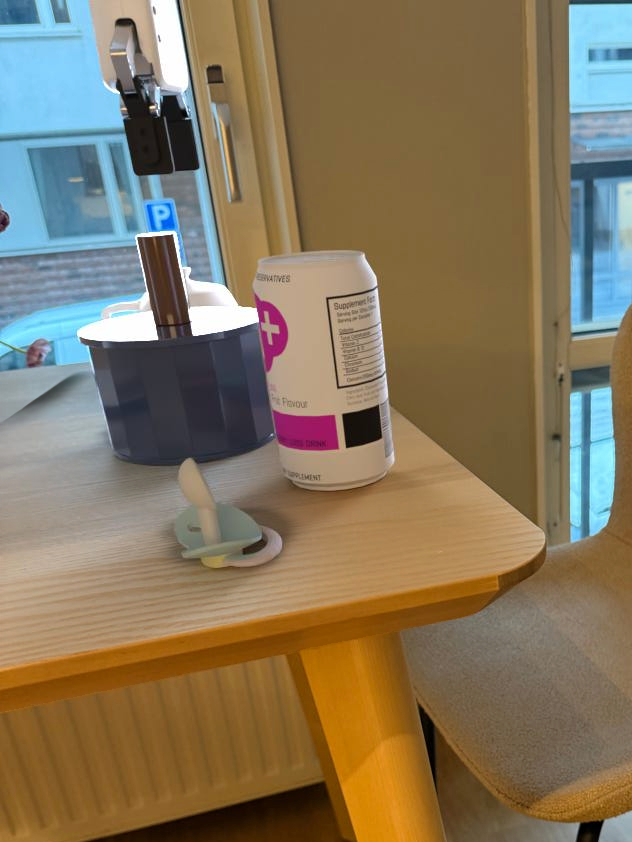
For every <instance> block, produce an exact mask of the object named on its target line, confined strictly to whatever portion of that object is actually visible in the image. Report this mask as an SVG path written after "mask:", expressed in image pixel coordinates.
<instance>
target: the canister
mask: <svg viewBox="0 0 632 842" xmlns="http://www.w3.org/2000/svg"><path fill="white" fill-rule="evenodd" d="M86 350H87V355H88V358H89V362H90V367H91V370H92V374H93V378H94V382H95V386H96V390H97V391H96V392H97V394H98V398H99V402H100V406H101V411H102V415H103V419H104V424H105V427H106V431H107V434H108V439H109V442H110V443H109V444H110V445H111V448H112V451H113V454H114V455H115V457H116V458H118V459H119V460H121V461H124V462H127V463H131V464H137V465H146V466H149V465H150V466H178V465H179V466H181V465H182V463H183V462H184V461H185V460H186V459H188V458H192V459H193V460H194V461H195V462H196V464H197V463H198V464H201V463H205V462H212V461H217V460H222V459H226V458H231V457H236V456H239V455H242V454H247V453H249V452H251V451H254V450H257V449H259V448H262V447H263V446H266V445H268V444H269V443H270V442H272V441H273V440H274V439H276V438H277V436H276V430H275V423H274V417H273V411H272V404H271V398H270V392H269V386H268V379H267V373H266V367H265V361H264V354H263V348H262V342H261V336H260V329H257V330H255V331H252V332H249V333H246V334H243V335H239V336H235V337H231V338H226V339H221V340H216V341H210V342H204V343H197V344H190V345H182V346H172V347H161V348H146V349H105V348H95V347H90V346H86Z"/></svg>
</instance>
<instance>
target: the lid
mask: <svg viewBox="0 0 632 842" xmlns="http://www.w3.org/2000/svg"><path fill="white" fill-rule="evenodd" d="M177 235H178V234H177V233H176V232H175V231H160V232H159V231H158V232H148V233H141V234H137V235H136V236H135V240H136V245H137V250H138V254H139V259H140V264H141V268H142V273H143V278H144V283H145V287H146V292H148V297H149V302H150V307H151V311H152V312H146V313H139V312H138V313H133V314H128V315H122V316H118V317H113V318H111V319H108V320H104V321H102V320H101V321H97V322H94V323H91V324H88V325H86V326H83V327H82V328H80V329H79V330H78V331H77V340H78V342H79V343H80V344H81V345H84V346H86V347H87V346H90V347H95V348H105V349H146V348H161V347H172V346H182V345H190V344H197V343H204V342H210V341H216V340H221V339H226V338H231V337H235V336H239V335H243V334H246V333H249V332H252V331H255V330H257V329H259V323H258V317H257V311H256V309H255V308H252V307H242V306H239V307H197V308H191V307H190V302H189V297H188V292H187V287H186V281H185V276H184V271H183V267H184V266H183V261H182V257H181V250H180V246H179V240H178V236H177Z"/></svg>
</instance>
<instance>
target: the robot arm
mask: <svg viewBox="0 0 632 842" xmlns="http://www.w3.org/2000/svg"><path fill="white" fill-rule="evenodd" d="M88 5H89V12H90V17H91V23H92V29H93V35H94V40H95V41H94V42H95V47H96V52H97V57H98V58H97V59H98V63H99V69H100V74H101V78H102V79H101V80H102V82H103V84H104V86H105V87H106V88H107V89H108V90H110V91H111V92H113V93H115V94H116V93H117V94H119V110H120V113H121V117H122V118H123V119H122V123H123V128H124V132H125V136H126V143H127V147H128V152H129V157H130V162H131V165H132V172H133V173H134V175H136V176H139V177H142V176H145V177H146V176H161V175H172V174H174V173H175V172H188V171H189V172H190V171H198V170H200V169H201V161H200V155H199V150H198V144H197V139H196V138H197V137H196V132H195V127H194V121H193V120H194V119H193V118H192V112H191V107H190V105H189V101H188V98H187V96H188V95H187V88H188V87H189V74H188V73H189V72H188V65H187V59H186V58H187V57H186V52H185V45H184V41H183V40H184V39H183V35H182V30H181V25H180V24H181V23H180V19H179V13H178V9H177V3H176V0H88ZM161 97H162V98H161Z"/></svg>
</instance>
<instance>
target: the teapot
mask: <svg viewBox="0 0 632 842" xmlns="http://www.w3.org/2000/svg"><path fill="white" fill-rule="evenodd" d="M183 271H184V276H185V281H186V287H187V292H188V297H189V302H190V307H191V308H197V307H240V306H239V305H238V303H237V301H236V300H235V297H234V296H233V295H232V293H231V292H230V290H228V288H227V287H226V286H225V285H223V284H219V283H215V282H204V281H196V280H193V279H190V278H189V276H190V274H191V271H192V268H191V267H189V266H183ZM254 309H256V307H255V308H254ZM122 312H123V313H124V312H138V314H139V313H146V312H152V311H151V307H150V302H149V297H148V292H147V291H145V292H144V293H143V296H141V298H139V299H138V300H134V301H128V302H118V303H114V304H111V305H108V306H106V307H104V308H103V310H102V311H101V313H100V318H101V321H104V320H108V319H112V315H114V314H116V313H122Z"/></svg>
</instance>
